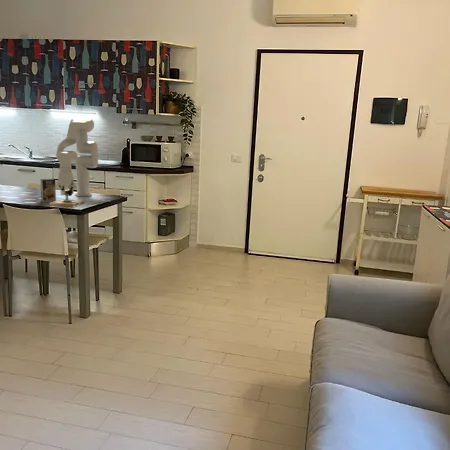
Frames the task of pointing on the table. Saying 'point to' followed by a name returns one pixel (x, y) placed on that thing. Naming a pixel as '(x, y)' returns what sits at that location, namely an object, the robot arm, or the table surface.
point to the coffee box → (48, 190)
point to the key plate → (66, 203)
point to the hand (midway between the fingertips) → (66, 194)
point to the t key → (66, 194)
